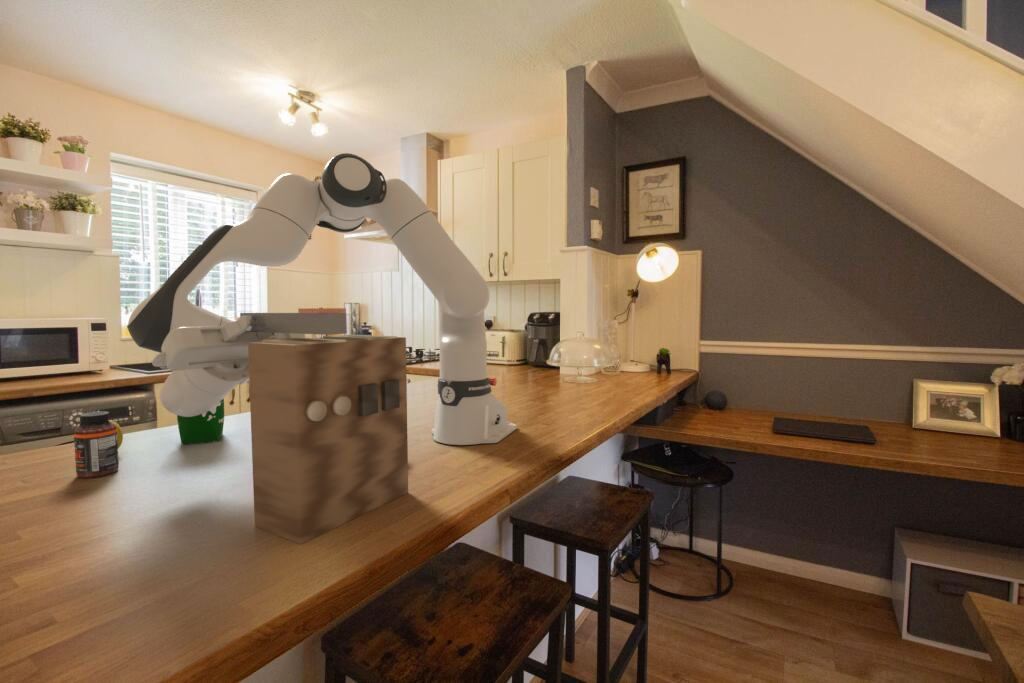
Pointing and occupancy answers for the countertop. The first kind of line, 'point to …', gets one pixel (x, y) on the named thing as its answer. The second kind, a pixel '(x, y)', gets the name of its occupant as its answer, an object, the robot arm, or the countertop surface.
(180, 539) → the countertop surface
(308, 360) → the panel block
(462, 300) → the robot arm
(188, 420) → the milk carton
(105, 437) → the supplement bottle
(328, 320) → the paddle lever
